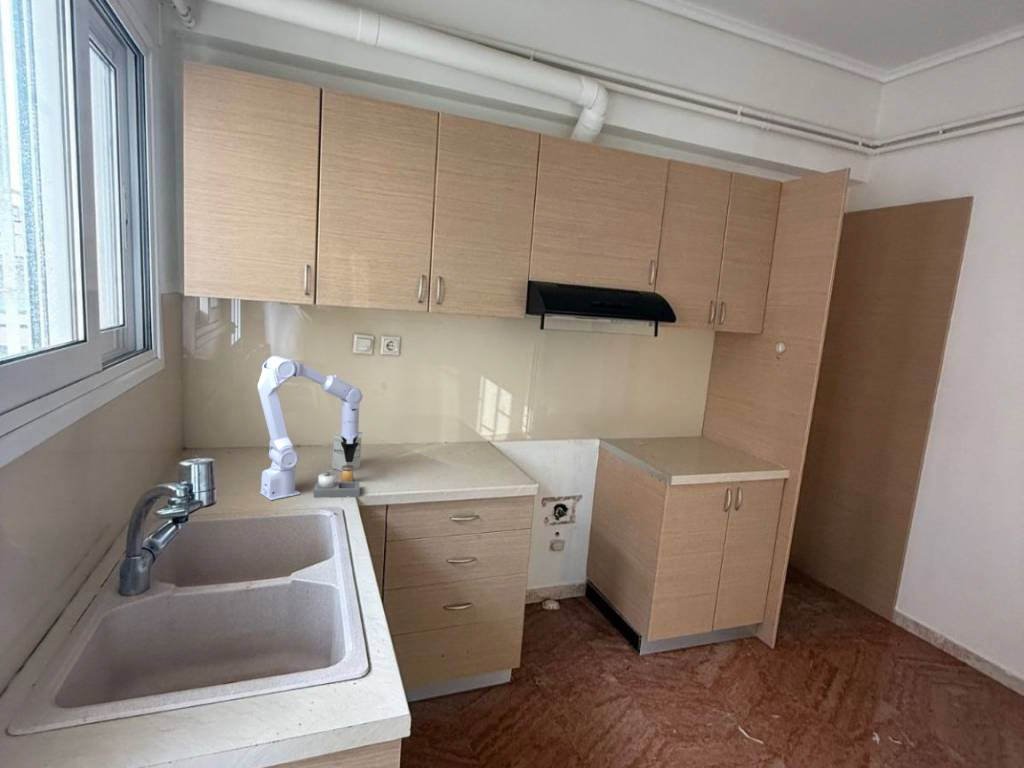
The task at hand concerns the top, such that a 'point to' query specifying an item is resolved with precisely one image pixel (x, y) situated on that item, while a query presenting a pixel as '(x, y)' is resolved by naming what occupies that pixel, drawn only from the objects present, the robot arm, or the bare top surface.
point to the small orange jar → (347, 473)
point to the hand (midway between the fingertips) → (349, 458)
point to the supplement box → (340, 456)
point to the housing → (335, 487)
